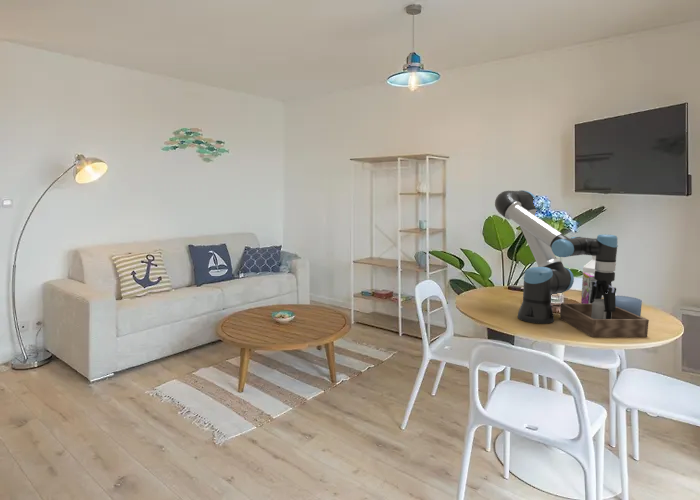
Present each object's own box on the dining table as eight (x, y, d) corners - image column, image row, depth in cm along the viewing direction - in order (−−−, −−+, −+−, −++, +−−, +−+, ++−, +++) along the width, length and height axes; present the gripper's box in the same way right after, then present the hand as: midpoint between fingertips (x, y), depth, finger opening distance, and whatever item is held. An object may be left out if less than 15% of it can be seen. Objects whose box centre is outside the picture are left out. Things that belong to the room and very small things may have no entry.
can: (588, 326, 189) (590, 299, 188) (593, 323, 195) (595, 296, 193) (607, 330, 184) (609, 302, 183) (612, 327, 189) (615, 299, 188)
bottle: (586, 292, 257) (589, 249, 253) (608, 295, 248) (612, 251, 244) (577, 295, 249) (580, 251, 246) (600, 299, 240) (603, 253, 237)
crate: (591, 336, 176) (593, 320, 175) (559, 318, 202) (560, 303, 201) (647, 336, 176) (648, 320, 176) (608, 318, 203) (609, 303, 202)
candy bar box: (580, 303, 231) (582, 272, 229) (590, 303, 230) (593, 272, 228) (587, 308, 220) (589, 276, 218) (598, 308, 219) (600, 276, 217)
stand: (617, 319, 200) (618, 302, 199) (599, 311, 214) (600, 295, 213) (647, 319, 201) (649, 302, 200) (627, 311, 214) (629, 295, 213)
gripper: (629, 275, 176) (624, 330, 179) (599, 267, 196) (596, 316, 199) (610, 275, 176) (606, 330, 179) (583, 267, 196) (579, 316, 199)
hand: (600, 323), depth 189 cm, fingers closed on can, 7 cm apart
